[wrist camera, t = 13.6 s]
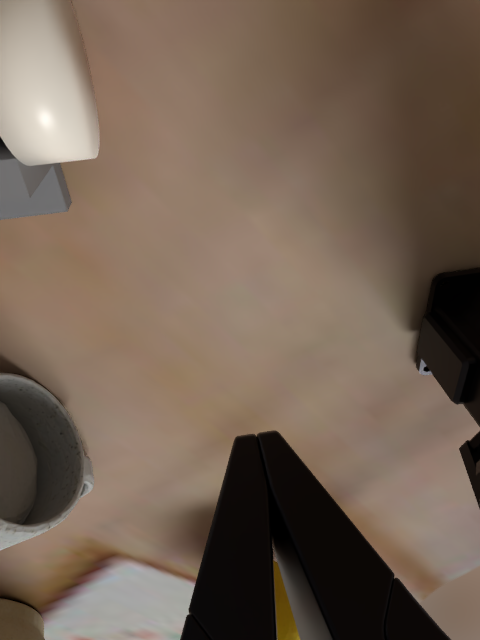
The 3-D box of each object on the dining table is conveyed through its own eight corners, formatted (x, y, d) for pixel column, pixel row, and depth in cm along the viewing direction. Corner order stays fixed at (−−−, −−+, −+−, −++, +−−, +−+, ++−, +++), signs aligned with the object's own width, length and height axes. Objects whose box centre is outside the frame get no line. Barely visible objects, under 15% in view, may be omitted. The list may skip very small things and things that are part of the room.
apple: (283, 533, 35) (309, 654, 29) (296, 571, 39) (323, 686, 32) (202, 554, 35) (210, 679, 29) (224, 590, 39) (235, 708, 32)
